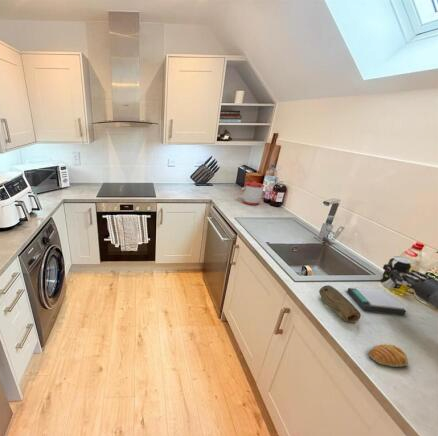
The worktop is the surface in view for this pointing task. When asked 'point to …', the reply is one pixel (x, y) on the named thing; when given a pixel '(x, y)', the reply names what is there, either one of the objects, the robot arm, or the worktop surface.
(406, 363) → the pastry
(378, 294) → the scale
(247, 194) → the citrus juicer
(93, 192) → the worktop surface
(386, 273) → the beverage can
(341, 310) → the brown rough cylinder
